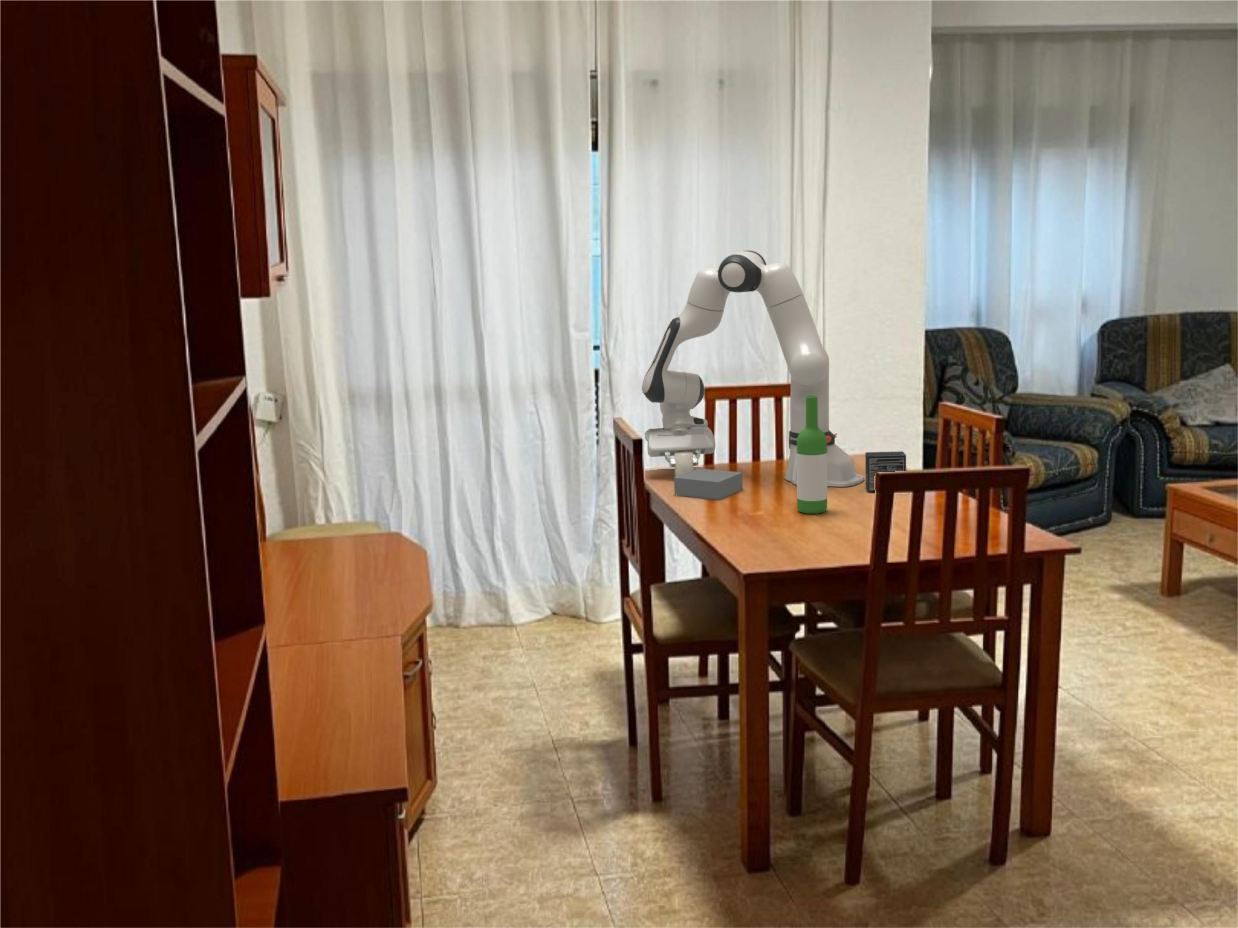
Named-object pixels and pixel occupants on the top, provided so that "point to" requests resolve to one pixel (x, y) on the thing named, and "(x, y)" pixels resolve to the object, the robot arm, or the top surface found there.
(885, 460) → the small box
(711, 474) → the plinth
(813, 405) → the wine bottle
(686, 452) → the cylinder
